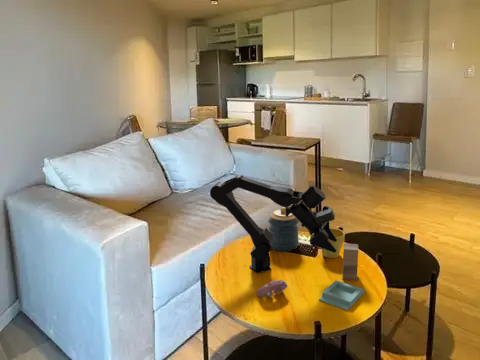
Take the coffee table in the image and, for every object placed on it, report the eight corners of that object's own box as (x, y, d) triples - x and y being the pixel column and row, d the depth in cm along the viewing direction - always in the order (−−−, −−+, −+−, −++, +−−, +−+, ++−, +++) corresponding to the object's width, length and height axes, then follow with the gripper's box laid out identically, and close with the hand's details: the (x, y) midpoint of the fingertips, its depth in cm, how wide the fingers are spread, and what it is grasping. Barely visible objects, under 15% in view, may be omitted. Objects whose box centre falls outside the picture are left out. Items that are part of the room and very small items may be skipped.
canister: (291, 254, 171) (291, 214, 166) (263, 248, 178) (262, 209, 173) (303, 243, 182) (303, 205, 177) (276, 237, 188) (276, 200, 184)
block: (356, 280, 149) (358, 250, 146) (342, 279, 150) (343, 249, 147) (356, 274, 154) (358, 244, 151) (342, 273, 155) (343, 243, 152)
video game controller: (261, 304, 139) (265, 291, 135) (254, 293, 142) (259, 280, 138) (285, 296, 144) (291, 283, 139) (279, 285, 147) (284, 273, 142)
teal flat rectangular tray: (347, 310, 131) (347, 304, 131) (319, 300, 138) (319, 294, 137) (365, 291, 142) (365, 286, 141) (338, 283, 148) (338, 277, 147)
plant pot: (341, 249, 175) (342, 227, 172) (345, 260, 165) (346, 237, 162) (317, 249, 176) (317, 227, 173) (319, 260, 166) (319, 237, 163)
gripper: (320, 210, 138) (353, 243, 139) (322, 194, 156) (352, 223, 156) (296, 231, 142) (328, 262, 143) (301, 212, 160) (330, 241, 160)
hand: (335, 246), depth 150 cm, fingers open, 9 cm apart
